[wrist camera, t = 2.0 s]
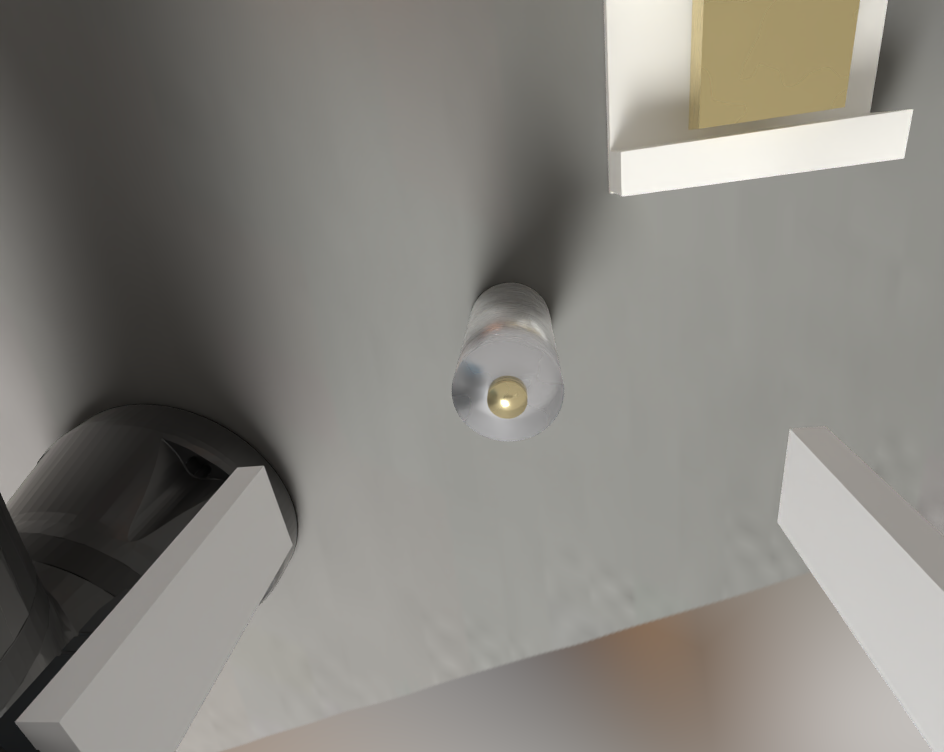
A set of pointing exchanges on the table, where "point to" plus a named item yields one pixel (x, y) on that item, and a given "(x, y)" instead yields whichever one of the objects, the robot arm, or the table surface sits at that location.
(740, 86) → the tan flat square block
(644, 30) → the cradle
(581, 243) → the table surface
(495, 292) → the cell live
